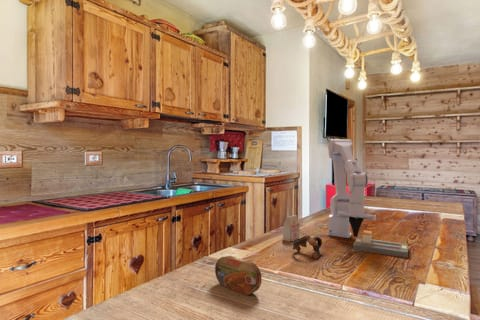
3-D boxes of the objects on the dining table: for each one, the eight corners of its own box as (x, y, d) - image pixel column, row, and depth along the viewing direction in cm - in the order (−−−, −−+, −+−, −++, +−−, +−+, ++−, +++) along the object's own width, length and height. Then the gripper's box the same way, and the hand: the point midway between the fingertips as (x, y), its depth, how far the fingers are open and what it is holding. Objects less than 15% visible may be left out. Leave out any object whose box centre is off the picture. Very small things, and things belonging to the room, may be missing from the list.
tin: (214, 283, 94) (214, 253, 93) (221, 279, 96) (222, 251, 96) (255, 299, 84) (256, 267, 84) (263, 295, 86) (263, 263, 86)
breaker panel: (352, 249, 127) (353, 243, 127) (356, 241, 138) (356, 235, 138) (407, 257, 119) (408, 250, 119) (407, 248, 129) (407, 242, 129)
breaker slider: (362, 242, 129) (362, 232, 129) (363, 240, 133) (363, 230, 133) (370, 243, 128) (370, 233, 128) (371, 241, 132) (371, 231, 131)
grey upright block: (282, 239, 139) (283, 216, 139) (292, 237, 144) (293, 214, 144) (289, 241, 137) (290, 217, 136) (299, 238, 141) (300, 215, 141)
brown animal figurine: (311, 263, 113) (299, 241, 115) (295, 266, 121) (284, 246, 122) (332, 248, 120) (321, 227, 121) (316, 253, 127) (306, 233, 129)
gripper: (336, 202, 131) (335, 235, 132) (375, 206, 125) (374, 241, 125) (339, 200, 138) (338, 232, 138) (376, 203, 131) (375, 236, 132)
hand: (355, 236), depth 132 cm, fingers closed
